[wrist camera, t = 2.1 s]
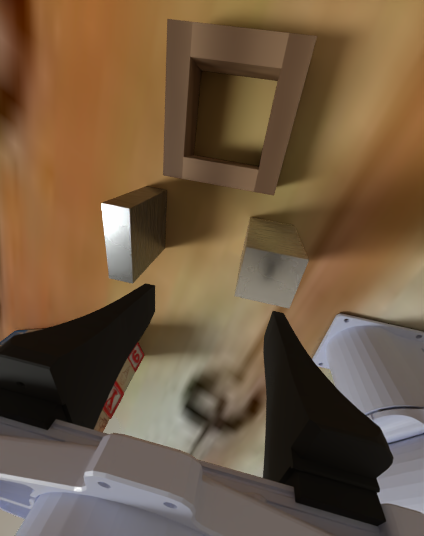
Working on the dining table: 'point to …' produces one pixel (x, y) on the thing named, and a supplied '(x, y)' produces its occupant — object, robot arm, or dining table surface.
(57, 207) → the dining table surface
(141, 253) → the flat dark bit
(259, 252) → the block
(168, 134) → the walnut bore block
